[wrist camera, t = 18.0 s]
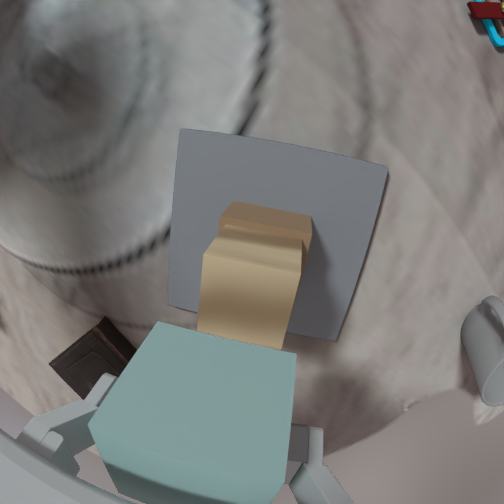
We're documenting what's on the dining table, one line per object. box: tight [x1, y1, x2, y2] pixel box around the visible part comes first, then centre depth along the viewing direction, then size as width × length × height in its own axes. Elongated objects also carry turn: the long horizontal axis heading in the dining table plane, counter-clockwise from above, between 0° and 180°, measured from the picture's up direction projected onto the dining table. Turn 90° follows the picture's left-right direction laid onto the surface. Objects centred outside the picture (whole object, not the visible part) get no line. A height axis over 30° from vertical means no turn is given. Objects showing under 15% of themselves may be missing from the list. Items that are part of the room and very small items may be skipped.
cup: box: [461, 296, 504, 406], centre depth 22 cm, size 8×10×8 cm
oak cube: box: [197, 224, 302, 349], centre depth 19 cm, size 5×5×5 cm
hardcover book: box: [49, 317, 137, 400], centre depth 37 cm, size 16×23×2 cm
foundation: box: [168, 129, 388, 341], centre depth 24 cm, size 16×16×5 cm
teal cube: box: [88, 321, 297, 504], centre depth 9 cm, size 5×5×5 cm
